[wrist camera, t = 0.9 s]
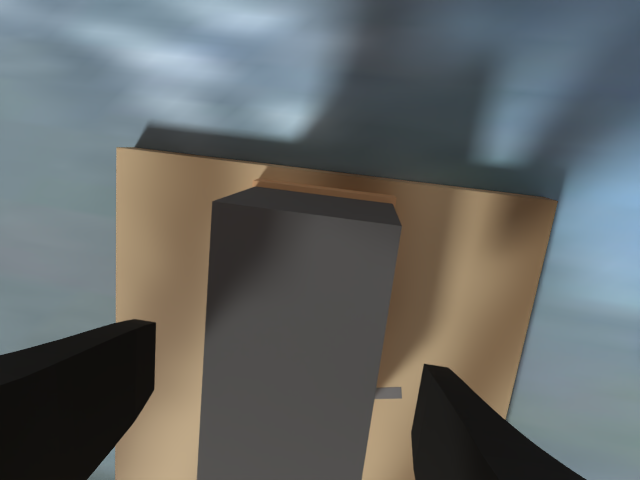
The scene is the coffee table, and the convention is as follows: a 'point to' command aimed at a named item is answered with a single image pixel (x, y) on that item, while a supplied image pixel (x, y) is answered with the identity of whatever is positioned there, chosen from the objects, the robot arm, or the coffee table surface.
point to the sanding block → (294, 330)
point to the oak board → (404, 310)
